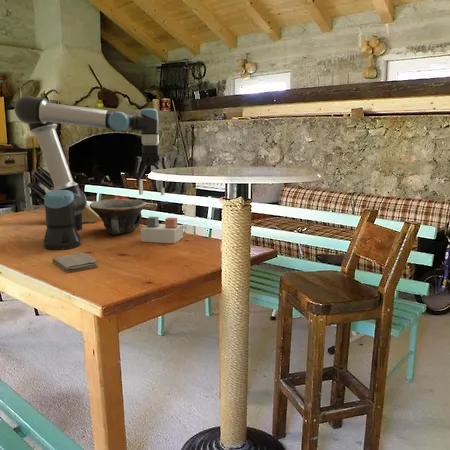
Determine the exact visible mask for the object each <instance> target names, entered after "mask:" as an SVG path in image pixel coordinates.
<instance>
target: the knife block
mask: <svg viewBox="0 0 450 450" xmlns="http://www.w3.org/2000/svg"><path fill="white" fill-rule="evenodd" d="M31 176H32V177H33V178H35V180H36V181H38V182H39V183H40V184H42V185H43V186H44V187H45V188H46V189H48V190H49V191H50V192H51V191H53V189H54V184H53V181H52V178H51V176H50V173H49V171H47V170H46V169H45V168H43V167H42V166H39V167H37V169H36V170H35V171H34V172H31ZM26 186H27V187H28V188H29V189H31V190H32V192H31V193H29V197H30V198H32V199H34V200H35V201H36V202H38V203H39V204H41V205H43V207H45V204H44V201H45V195H46V194H47V193H48V192H46V191H45V189H43V188H42V187H41V186H40V185H39V184H37V183H36V182H32V181H30V182H28V183H27V184H26ZM99 218H100V216H99V215H98V214H96V213H95V212H94V211H93V210H92V209H91V208H90V204H88V203H87V204H86V207H85V209H84V210H83V211H82V223H90V224H91V223H95V222H96V221H98V219H99Z"/></svg>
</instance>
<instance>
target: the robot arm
mask: <svg viewBox="0 0 450 450" xmlns="http://www.w3.org/2000/svg"><path fill="white" fill-rule="evenodd" d="M158 112H159V110H157V109H155V108H141V109H140V112H139V113H128V112H123V111H119V110H116V111H115V110H108V109H107V110H106V109H100V108H92V107H84V106H77V105H70V104H68V105H67V104H59V103H52V102H51V101H50V100H48V99H46V98H43V97H40V96H38V97H36V96H33V95H23V96H22V97H20V98H18V99H17V100H16V102H15V104H14V113H15V115H16V117H17V118H18V120H20V121H21V122H22V123H24V124H27V125H28V128H29V130H30V133H32V134H34V135H35V137H36V140H37V142H38V145H39V148H40V150H41V154H42V155H43V159H44V161H45V164H46V167H47V170H48V173H50V176H51V178H52V181H53V184H54V188H53V191H51V190H50V191H48V192H46V193H47V194H46V195H45V198H44V199H45V201H44V204H45V206H44V210H45V222H46V231H45V234H44V239H43V248H44V249H47V250H67V249H73V248H78V247H79V246H81V245H82V241H81V238H80V234H79V232H78V231H77V230H76V227H75V216H76V215H79V214H80V213H81V212H82V211H83V210H84V209H85V207H86V204H88V203H87V201H88V200H87V199H88V198H87V197H86V194H85V193H84V192H83V191H82V190H81V189H80V185H79V183H77V182H75V181H74V179H73V176H72V173H71V170H70V167H69V165H68V162H67V159H66V156H65V153H64V150H63V147H62V144H61V142H60V140H59V135H58V134H57V127H58V124H63V125H64V124H66V125H73V126H82V127H89V128H90V127H91V128H97V129H106V130H113V131H116V132H117V131H119V132H141V144H142V146H141V153H142V155H141V156H136V157H135V165H134V167H133V168H134V169H133V173H132V179H134V180H136V187H137V188H138V195H140V196H141V195H144V186H143V185H144V183H143V182H144V181H143V179H142V178H143V176H144V173H145V171H146V169H147V167H149V166H150V167H151V166H152V167H154V168H155V169H156V170H157V169H167V168H168V164H167V157H166V156H163V157H162V156H160V146H159V145H158V144H159V143H160V139H159V138H160V136H159V135H160V134H159V132H160V131H159V130H160V129H159V113H158ZM142 161H143V163H142V165H141V162H142ZM159 162H161V165H160V163H159ZM161 166H162V168H161ZM168 169H169V168H168ZM165 188H167V180H166V181H162V180H160V196H165V194H166V193H165Z"/></svg>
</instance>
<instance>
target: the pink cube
mask: <svg viewBox="0 0 450 450" xmlns="http://www.w3.org/2000/svg"><path fill="white" fill-rule="evenodd" d="M164 222H165V223H164V224H165V228H174V229H175V228H177V225H178V217H167V218H165V221H164Z"/></svg>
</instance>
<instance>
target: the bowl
mask: <svg viewBox="0 0 450 450" xmlns="http://www.w3.org/2000/svg"><path fill="white" fill-rule="evenodd" d="M89 206H90V208H91V209H92V210H93V211H94V212H95V213H96V214H98V215H99V218H100V219H101V220H102V222H103V225H104V228H105V232H106V233H109V234H112V235H122V234H125V233H126V234H127V233H131V232H132V231H134V230H135V229H137V228H139V227H140V225H141V223H142V219H143V215H142V211H143V209H144V208H145V207H146V206H147V204H146V201H143V200H141V199H127V198H126V199H123V198H121V199H119V198H118V199H104V200H96V201H93V202H91V203H90V204H89Z"/></svg>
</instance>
